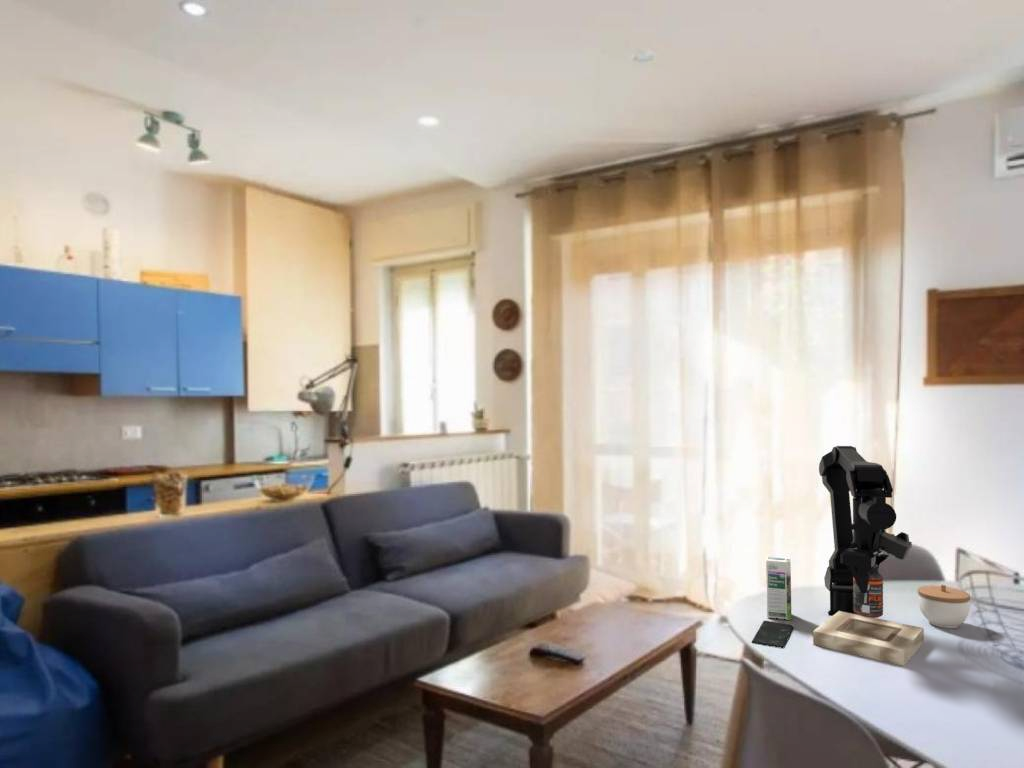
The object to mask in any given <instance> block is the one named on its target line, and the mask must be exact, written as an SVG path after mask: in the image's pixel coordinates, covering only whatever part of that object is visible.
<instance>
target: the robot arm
mask: <svg viewBox="0 0 1024 768" xmlns="http://www.w3.org/2000/svg"><path fill="white" fill-rule="evenodd" d="M818 472H819V476H820V477H821V481H822V484H823V485H824V488H826V490H827V491H828V492H829V495H830V497H829V499H830V508H831V518H832V519H831V521H832V530H833V531H832V532H833V543H834V546H833V547H834V551H833V553H832V555H831V556H830V558H829V560H828V566H827V568H826V571H825V575H824V587H825V588H826V589H827V590H828V591H829V610H828V611H827V614H828V615H831V616H833V615H834V614H836V613H837V612H838V611H842V612H847V613H852V614H856V613H855V612H854V609H853V577H854V579H855V581H856V583H857V585H858V587H859V589H860V591H861V593H867V589H868V583H869V577H870V571H871V570H872V569H873V568H875V567H876V566H877V565H878V572H879V573H880V569H881V566H882V565H881V564H882V563H883V562H885V560H887V559H888V558H889V557H890V555H892V556H894V558H896V559H898V560H901V561H903V560H905V558H907V557H908V554H909V552H910V550H911V549H912V547H913V546H912V545H913V542H912V541H910V537H909V534H907V533H906V532H903V531H901V532H899V533H897V534H896V535H895V534H894V533H892V534H891V533H889V532H887V529H890V528H892V527H893V526H894V525H895V523H896V521H897V513H896V511H895V509H894V508H893V507H892V506H891V505H890V504H889V503H887V498H890V499H891V498H892V497H893V491H894V489H893V485H892V482H891V480H890V477H889V475H888V473H887V471H886V469H884V466H883V465H882V464H880V463H877V462H870V461H867V460H866V459H865V458H864V457H863V456H862V455H861V454H860V453H859V452H858V450H857V448H856V446H852V445H836V446H833V447H832V449H831V451H829V452H827V453H826V454H824V455H823V456H822V457H821V458H820V462H819V465H818ZM850 495H851V497H852V508H851V499H850V498H851V497H850ZM851 509H852V510H851ZM883 552H886V553H887V554H884V553H883ZM857 615H858V614H857Z"/></svg>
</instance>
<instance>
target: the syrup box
mask: <svg viewBox="0 0 1024 768" xmlns="http://www.w3.org/2000/svg"><path fill="white" fill-rule="evenodd" d="M765 565H766V568H765V569H766V572H765V573H766V617H769V618H768V619H776V618H778V619H777V620H784V619H786V620H787V621H792V575H791V573H792V570H791V569H792V567H791V557H784V556H770V555H767V556H766V563H765Z"/></svg>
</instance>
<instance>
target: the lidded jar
mask: <svg viewBox="0 0 1024 768" xmlns="http://www.w3.org/2000/svg"><path fill="white" fill-rule="evenodd" d="M917 595H918V597H917V598H918V606H919V609H920V612H921V613H922V615H923V617H925V618H926V620H928V623H929V624H931V625H933V626H936V627H938V628H945V629H956V628H959V626H960V625H962V624H964V622H965V621H966V620H967V619H968V617H969V613H970V607H971V606H970V601H971V595H970V593H968V592H967V591H965V590H961V589H958V588H955V587H951V586H950V587H949V586H947V585H946V584H940V585H923V586H919V587H918V588H917Z"/></svg>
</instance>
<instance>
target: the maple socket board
mask: <svg viewBox="0 0 1024 768" xmlns="http://www.w3.org/2000/svg"><path fill="white" fill-rule="evenodd" d="M812 635H813V636H812V642H813V643H812V644H813V646H814V645H815V646H818V647H823V648H828V649H832V650H835V651H840V652H843V653H847V654H852V655H857V656H859V657H860V656H861V657H865V658H868V659H873V660H878V661H883V662H886V663H890V664H893V665H898V666H903V667H904V666H906V664H907V663H908V662H909V661H910V659H911V658H912V657H913V656H914V654H916V652H917V650H919V648H920V647H921V646H922V644H923V643H925V628H924V627H921V626H915V625H911V624H906V623H900V622H897V621H890V620H884V619H880V618H870V617H864V616H861V615H857V614H852V613H847V612H842V611H838V612H837V613H836V614H834V615H831V616H830V617H829V618H828V619H826V620H825V621H824V622H823V623H821V624H820V625H819V626H818V627H816V628H815V629H814V630H813V631H812Z"/></svg>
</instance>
